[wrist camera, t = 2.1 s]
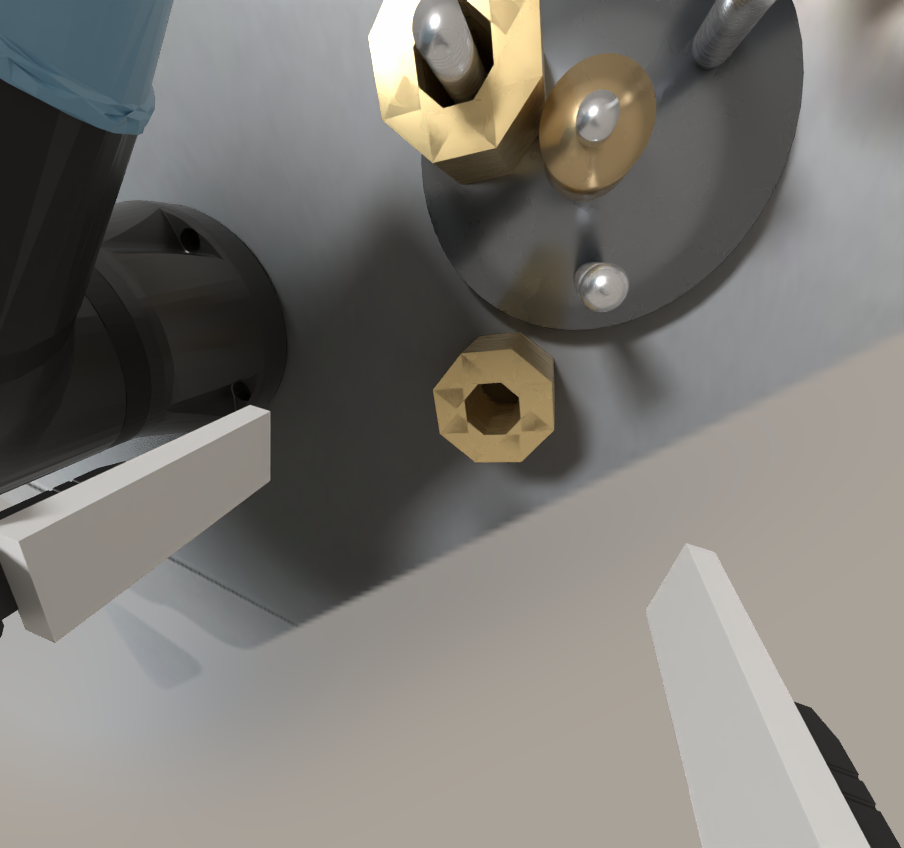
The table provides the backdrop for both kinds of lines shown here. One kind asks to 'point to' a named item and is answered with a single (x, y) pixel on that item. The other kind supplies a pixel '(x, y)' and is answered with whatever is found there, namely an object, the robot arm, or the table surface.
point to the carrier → (620, 153)
